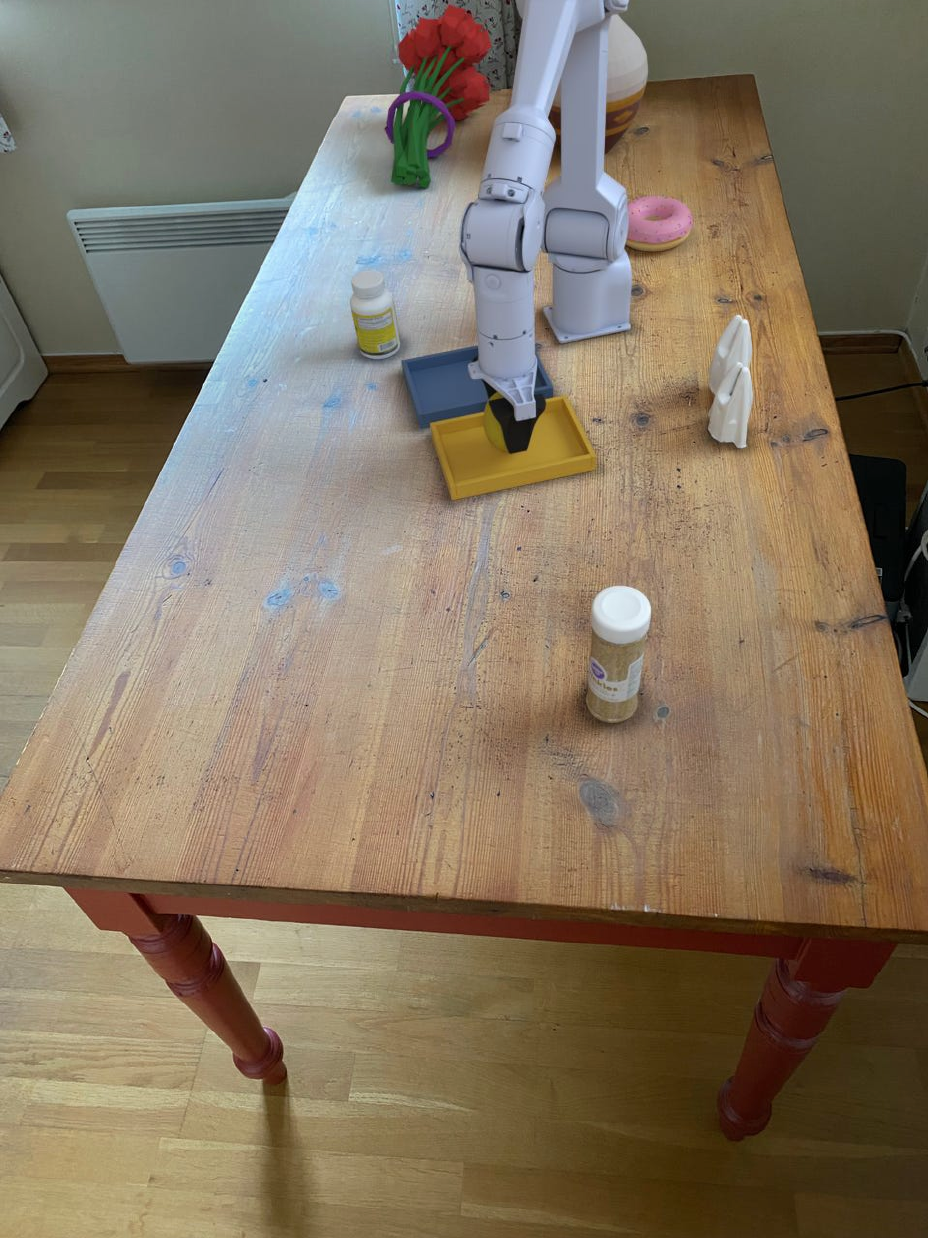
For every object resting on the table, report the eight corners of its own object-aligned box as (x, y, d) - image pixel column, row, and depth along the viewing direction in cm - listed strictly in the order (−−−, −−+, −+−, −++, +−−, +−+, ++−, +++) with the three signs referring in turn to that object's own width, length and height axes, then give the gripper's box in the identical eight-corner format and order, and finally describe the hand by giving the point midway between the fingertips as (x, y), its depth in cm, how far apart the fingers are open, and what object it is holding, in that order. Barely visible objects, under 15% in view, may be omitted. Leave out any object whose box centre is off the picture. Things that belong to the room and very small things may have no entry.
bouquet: (374, 225, 148) (412, 109, 161) (470, 228, 145) (501, 109, 157) (345, 113, 131) (391, -8, 143) (454, 114, 127) (491, -10, 140)
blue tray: (528, 348, 112) (528, 334, 111) (553, 401, 105) (553, 387, 104) (403, 373, 111) (401, 360, 109) (420, 428, 104) (418, 414, 102)
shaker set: (705, 380, 105) (719, 296, 97) (742, 381, 105) (759, 296, 96) (707, 447, 98) (722, 361, 90) (746, 448, 97) (765, 363, 89)
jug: (649, 173, 139) (669, -61, 116) (535, 181, 140) (532, -49, 117) (636, 119, 151) (651, -102, 128) (531, 127, 153) (527, -90, 129)
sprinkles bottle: (575, 707, 78) (579, 610, 68) (605, 673, 80) (613, 574, 70) (619, 734, 76) (630, 638, 66) (648, 699, 78) (663, 600, 68)
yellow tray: (566, 408, 104) (566, 394, 103) (595, 469, 97) (596, 455, 96) (431, 436, 103) (429, 422, 101) (451, 500, 96) (450, 486, 94)
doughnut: (669, 211, 131) (672, 182, 128) (705, 245, 124) (709, 216, 121) (601, 228, 130) (602, 199, 126) (633, 263, 123) (636, 234, 120)
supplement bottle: (368, 334, 117) (355, 264, 110) (406, 338, 116) (396, 268, 108) (353, 358, 114) (338, 288, 106) (392, 362, 113) (381, 292, 105)
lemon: (530, 467, 97) (529, 408, 91) (481, 464, 99) (476, 405, 92) (538, 435, 101) (537, 376, 95) (490, 432, 102) (486, 373, 96)
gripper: (450, 292, 92) (460, 400, 102) (483, 373, 82) (490, 482, 93) (516, 279, 92) (520, 388, 103) (556, 358, 83) (555, 469, 94)
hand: (510, 432), depth 98 cm, fingers closed on lemon, 5 cm apart
